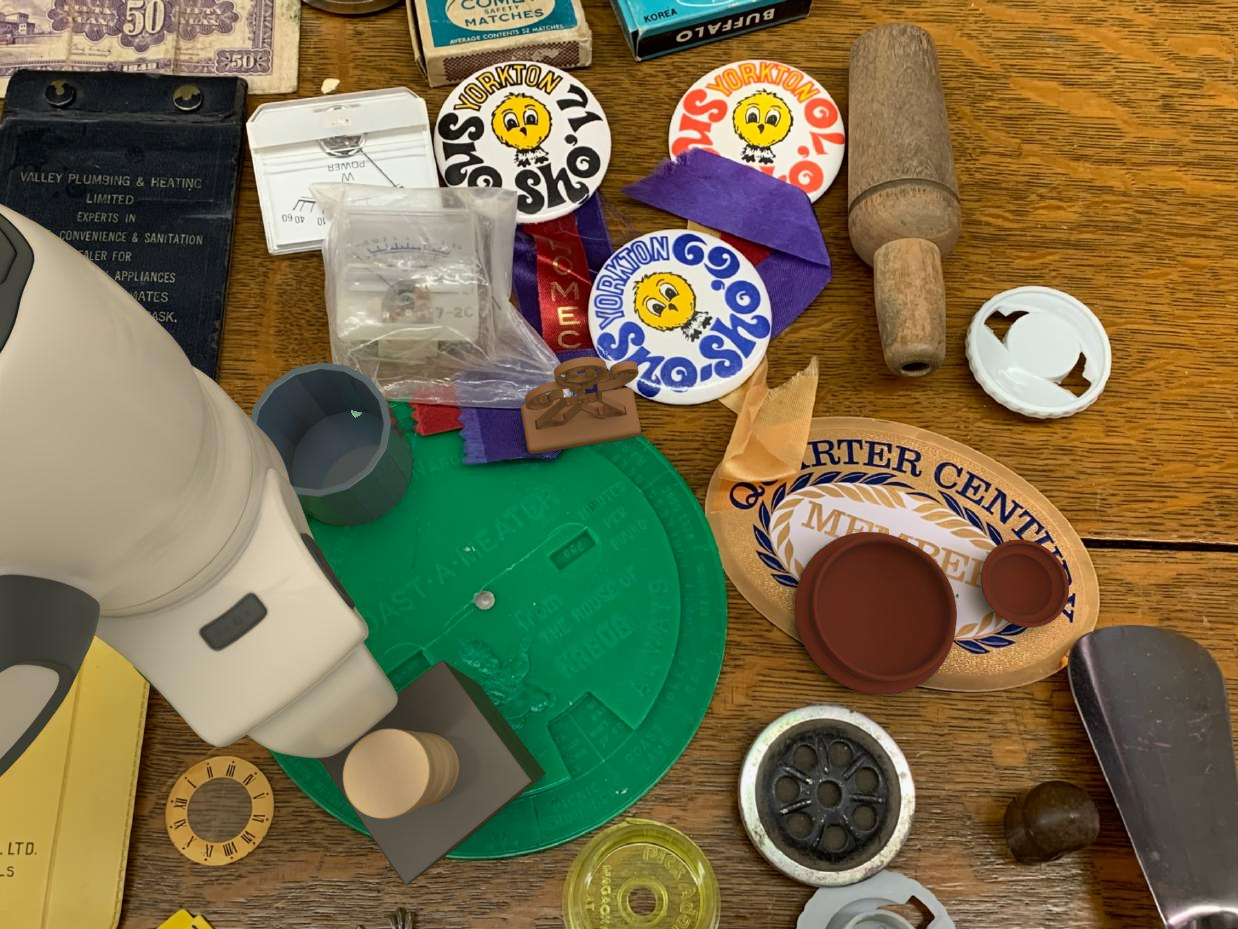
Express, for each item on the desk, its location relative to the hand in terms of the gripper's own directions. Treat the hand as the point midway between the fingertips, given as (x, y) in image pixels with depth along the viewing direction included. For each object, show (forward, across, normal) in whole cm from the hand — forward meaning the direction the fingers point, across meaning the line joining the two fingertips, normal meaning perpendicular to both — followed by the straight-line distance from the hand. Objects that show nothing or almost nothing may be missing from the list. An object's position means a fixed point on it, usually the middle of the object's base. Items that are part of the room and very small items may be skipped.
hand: (272, 573), depth 47 cm
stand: (+23, +12, 0) cm, 26 cm away
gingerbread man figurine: (+23, -3, +22) cm, 32 cm away
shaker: (+5, +12, 0) cm, 13 cm away
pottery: (+23, +24, +33) cm, 47 cm away
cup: (+23, -11, +6) cm, 26 cm away
